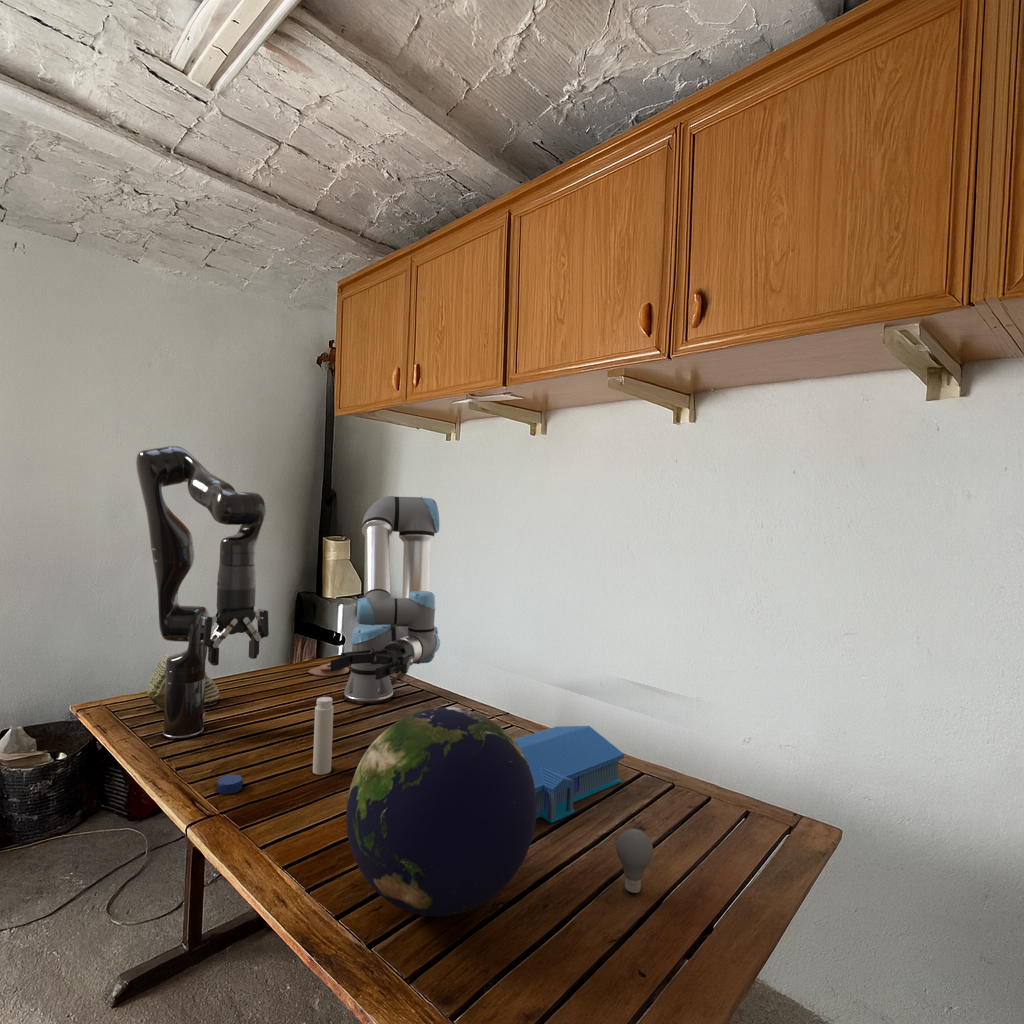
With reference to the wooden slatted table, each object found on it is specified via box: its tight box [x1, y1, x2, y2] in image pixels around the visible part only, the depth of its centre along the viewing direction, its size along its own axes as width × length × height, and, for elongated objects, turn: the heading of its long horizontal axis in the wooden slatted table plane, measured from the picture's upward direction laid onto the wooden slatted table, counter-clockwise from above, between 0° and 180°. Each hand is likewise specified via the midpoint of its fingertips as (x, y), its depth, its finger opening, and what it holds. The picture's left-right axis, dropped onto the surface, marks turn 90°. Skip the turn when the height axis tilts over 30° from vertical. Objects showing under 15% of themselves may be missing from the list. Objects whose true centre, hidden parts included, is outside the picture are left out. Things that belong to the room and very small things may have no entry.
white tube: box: [312, 696, 335, 776], centre depth 146 cm, size 4×4×17 cm
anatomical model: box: [308, 662, 350, 677], centre depth 227 cm, size 13×4×12 cm
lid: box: [216, 774, 244, 795], centre depth 135 cm, size 5×5×2 cm
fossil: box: [147, 654, 221, 712], centre depth 185 cm, size 9×18×15 cm, turn 132°
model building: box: [513, 725, 625, 824], centre depth 140 cm, size 39×24×10 cm, turn 132°
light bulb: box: [615, 828, 654, 894], centre depth 106 cm, size 6×6×10 cm
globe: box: [345, 706, 537, 918], centre depth 101 cm, size 30×30×30 cm
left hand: (234, 661), depth 135 cm, fingers open, 8 cm apart
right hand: (353, 670), depth 156 cm, fingers open, 13 cm apart
